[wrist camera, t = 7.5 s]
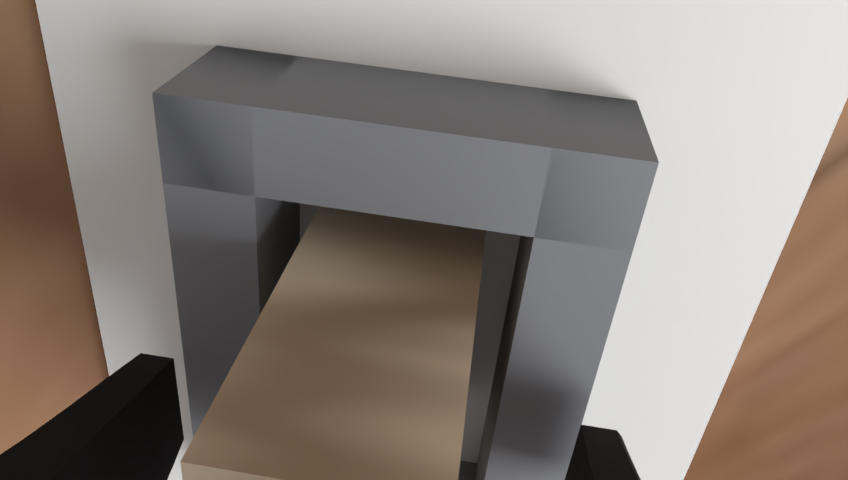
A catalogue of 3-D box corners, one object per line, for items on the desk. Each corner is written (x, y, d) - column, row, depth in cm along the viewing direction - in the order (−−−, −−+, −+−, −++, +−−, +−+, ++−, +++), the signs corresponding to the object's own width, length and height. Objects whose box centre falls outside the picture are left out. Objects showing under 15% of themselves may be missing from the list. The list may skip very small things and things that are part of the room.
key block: (489, 199, 13) (455, 509, 7) (458, 392, 16) (415, 734, 10) (334, 177, 14) (179, 461, 8) (329, 370, 16) (211, 694, 10)
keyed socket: (614, 613, 20) (627, 731, 18) (152, 531, 21) (98, 631, 19) (946, -187, 10) (1096, -186, 7) (4, -284, 11) (-166, -315, 8)
